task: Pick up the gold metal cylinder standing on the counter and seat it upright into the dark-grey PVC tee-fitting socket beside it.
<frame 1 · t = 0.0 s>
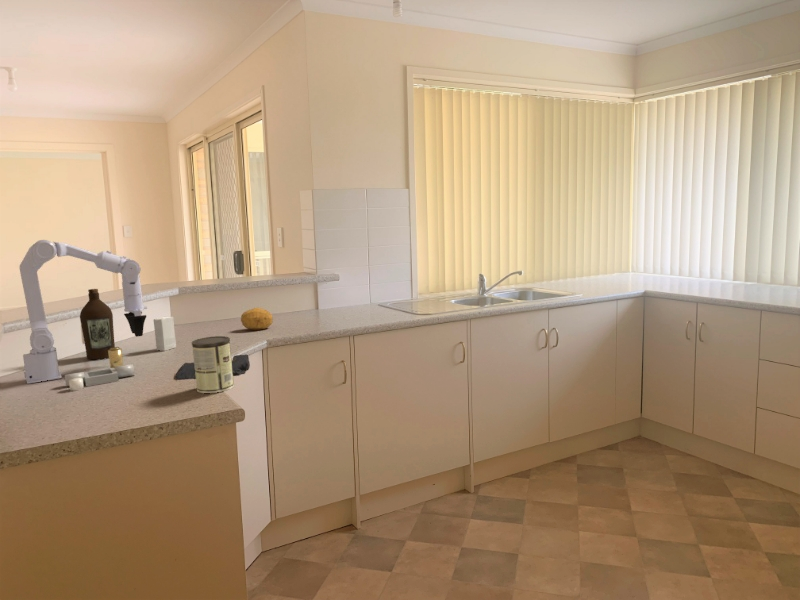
hand: (137, 334, 206), 10 cm above the worktop, tool pointing down, fingers open, 7 cm apart
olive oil: (101, 357, 221), on the worktop
gold metal cylinder: (117, 370, 199), on the worktop
potato: (257, 329, 261), on the worktop
fitting socket: (101, 380, 187), on the worktop
coffee can: (215, 389, 172), on the worktop
pipe cap: (77, 389, 179), on the worktop
skincare box: (166, 349, 229), on the worktop
dark slate chunk: (214, 373, 191), on the worktop
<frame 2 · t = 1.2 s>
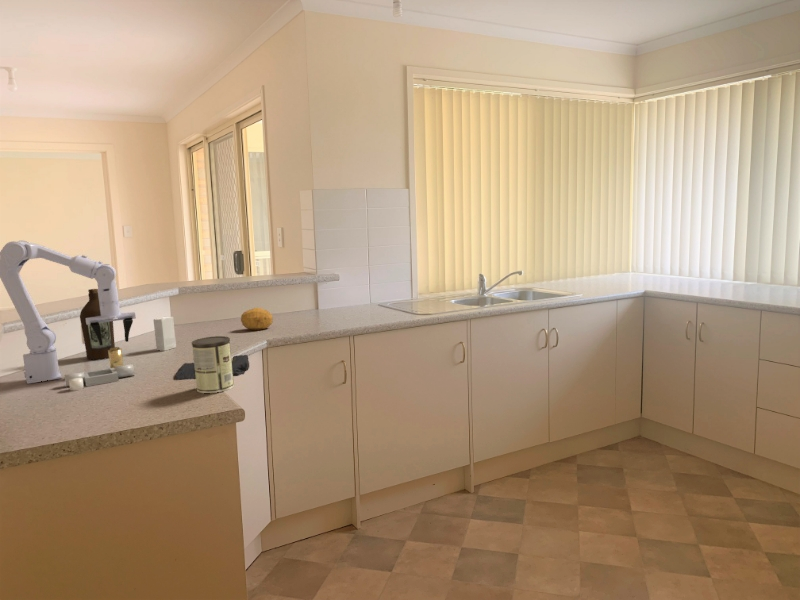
hand: (114, 343, 198), 9 cm above the worktop, tool pointing down, fingers open, 7 cm apart
nothing on the worktop moved.
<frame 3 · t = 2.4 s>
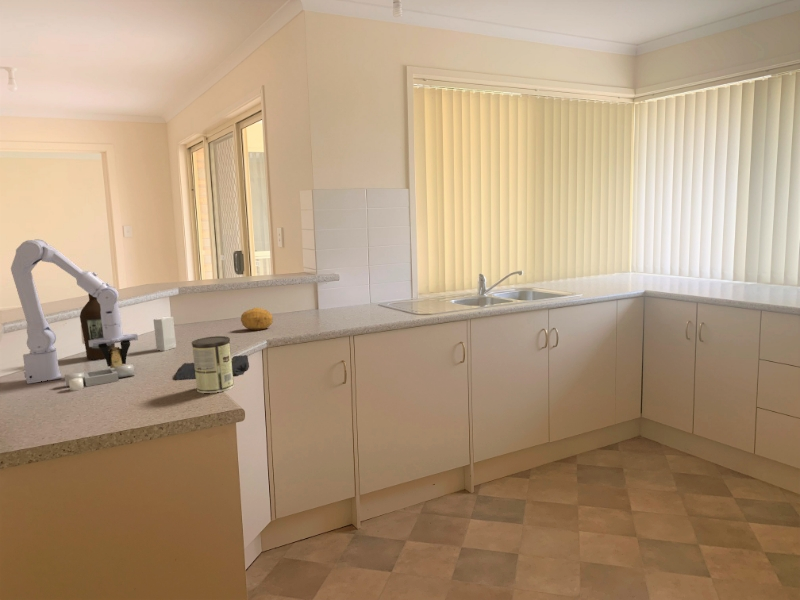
hand: (116, 364, 199), 2 cm above the worktop, tool pointing down, fingers closed on gold metal cylinder, 4 cm apart
gold metal cylinder: (117, 370, 199), on the worktop, touching gripper
everything else where it was.
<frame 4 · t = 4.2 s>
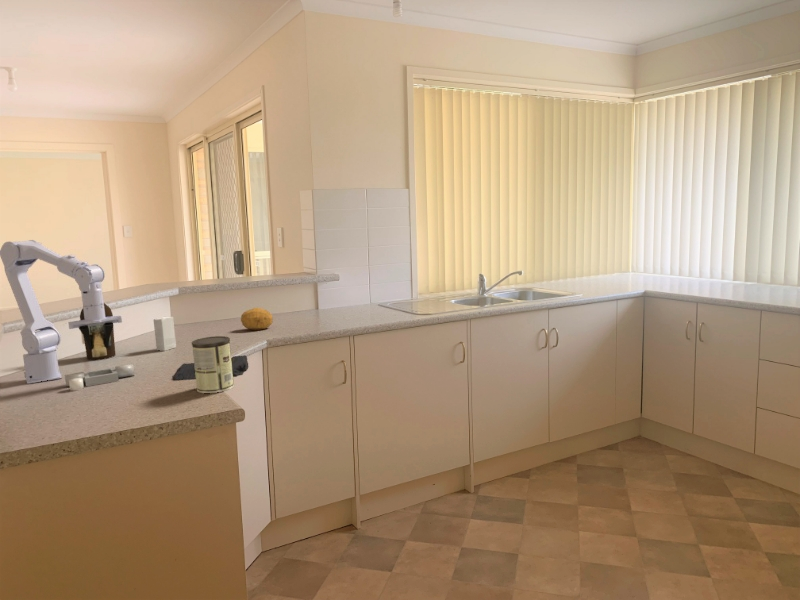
hand: (98, 348, 187), 10 cm above the worktop, tool pointing down, fingers closed on gold metal cylinder, 4 cm apart
gold metal cylinder: (99, 355, 187), point 8 cm above the worktop, touching gripper
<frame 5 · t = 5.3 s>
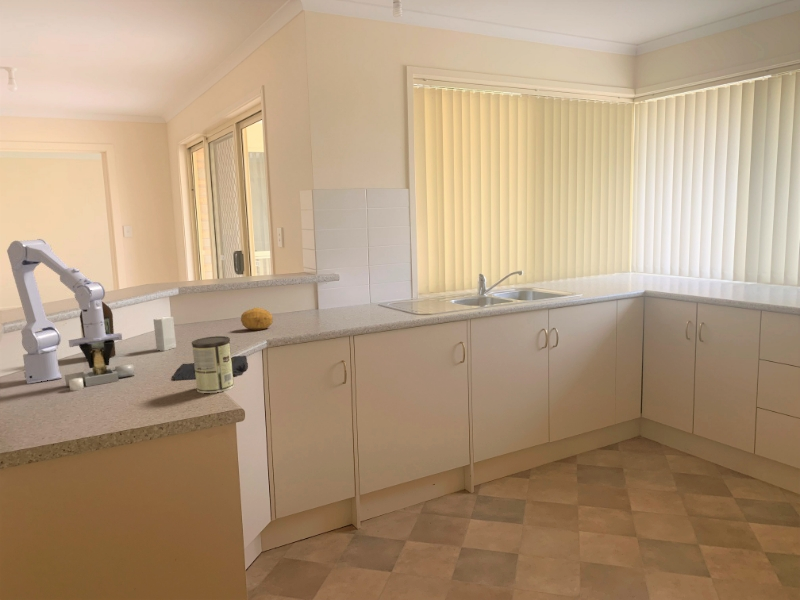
hand: (99, 366, 186), 5 cm above the worktop, tool pointing down, fingers closed on gold metal cylinder, 4 cm apart
gold metal cylinder: (100, 373, 187), point 2 cm above the worktop, touching gripper
when the fingers open (4 cm above the worktop, at t = 5.9 s): gold metal cylinder drops 1 cm, resting in fitting socket.
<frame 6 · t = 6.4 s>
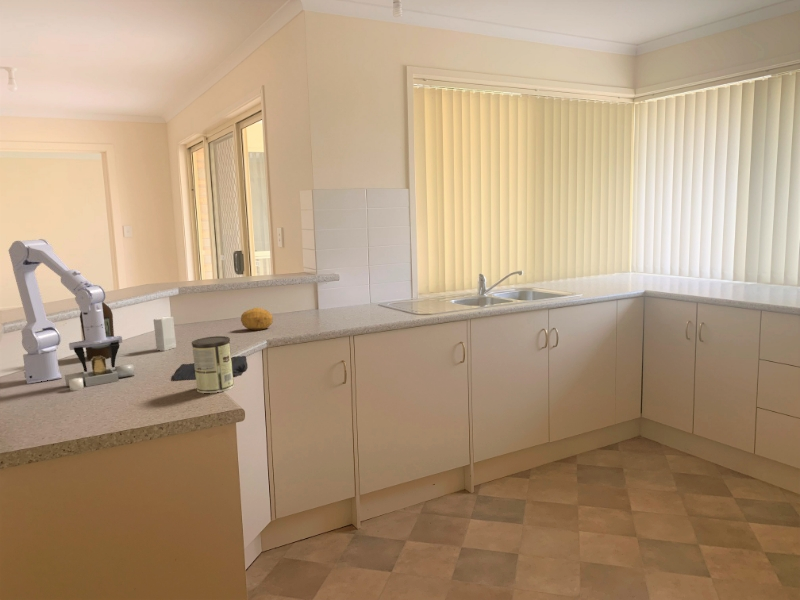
hand: (99, 369, 187), 4 cm above the worktop, tool pointing down, fingers open, 7 cm apart
gold metal cylinder: (100, 380, 187), resting in fitting socket
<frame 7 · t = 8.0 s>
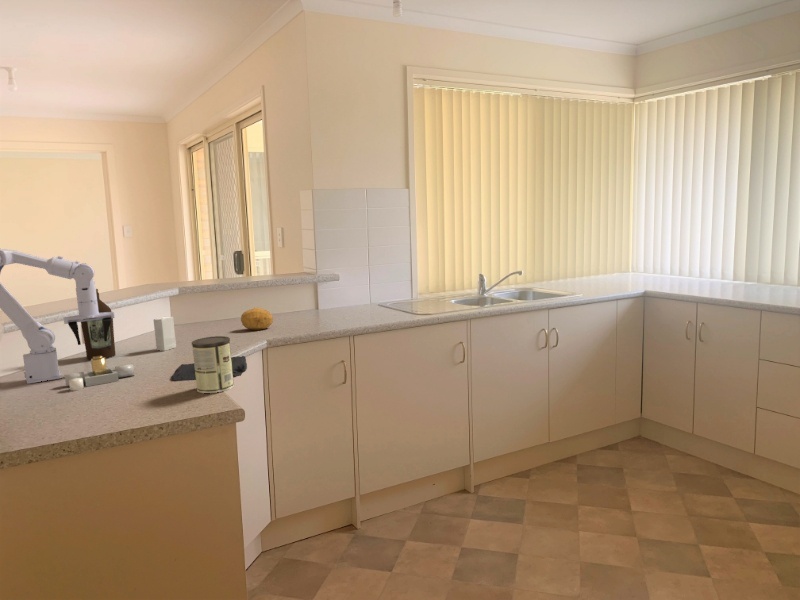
hand: (92, 342, 197), 10 cm above the worktop, tool pointing down, fingers open, 7 cm apart
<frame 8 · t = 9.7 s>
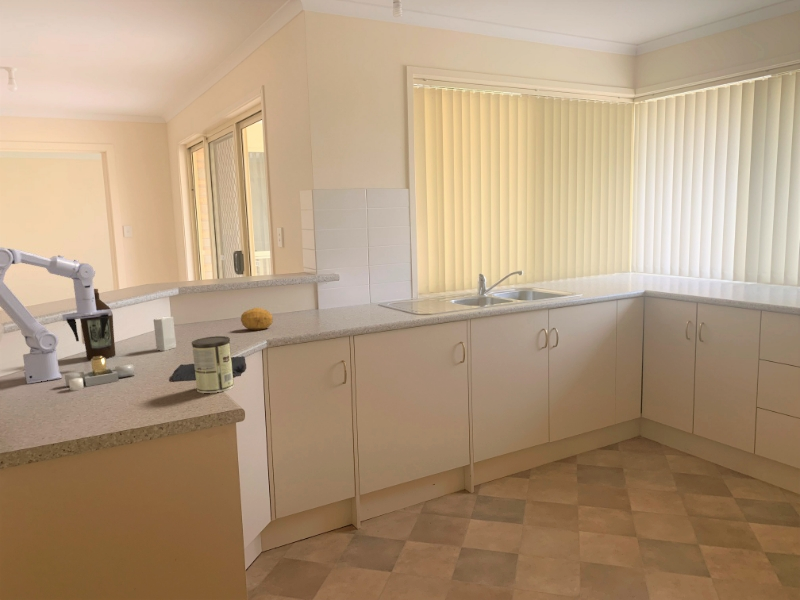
hand: (90, 339, 203), 10 cm above the worktop, tool pointing down, fingers open, 7 cm apart
at the end: gold metal cylinder 0.2 cm off-centre on the fitting socket, point 0.0 cm above the fitting socket's base; gold metal cylinder tilted 0°; the gripper is holding nothing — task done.
